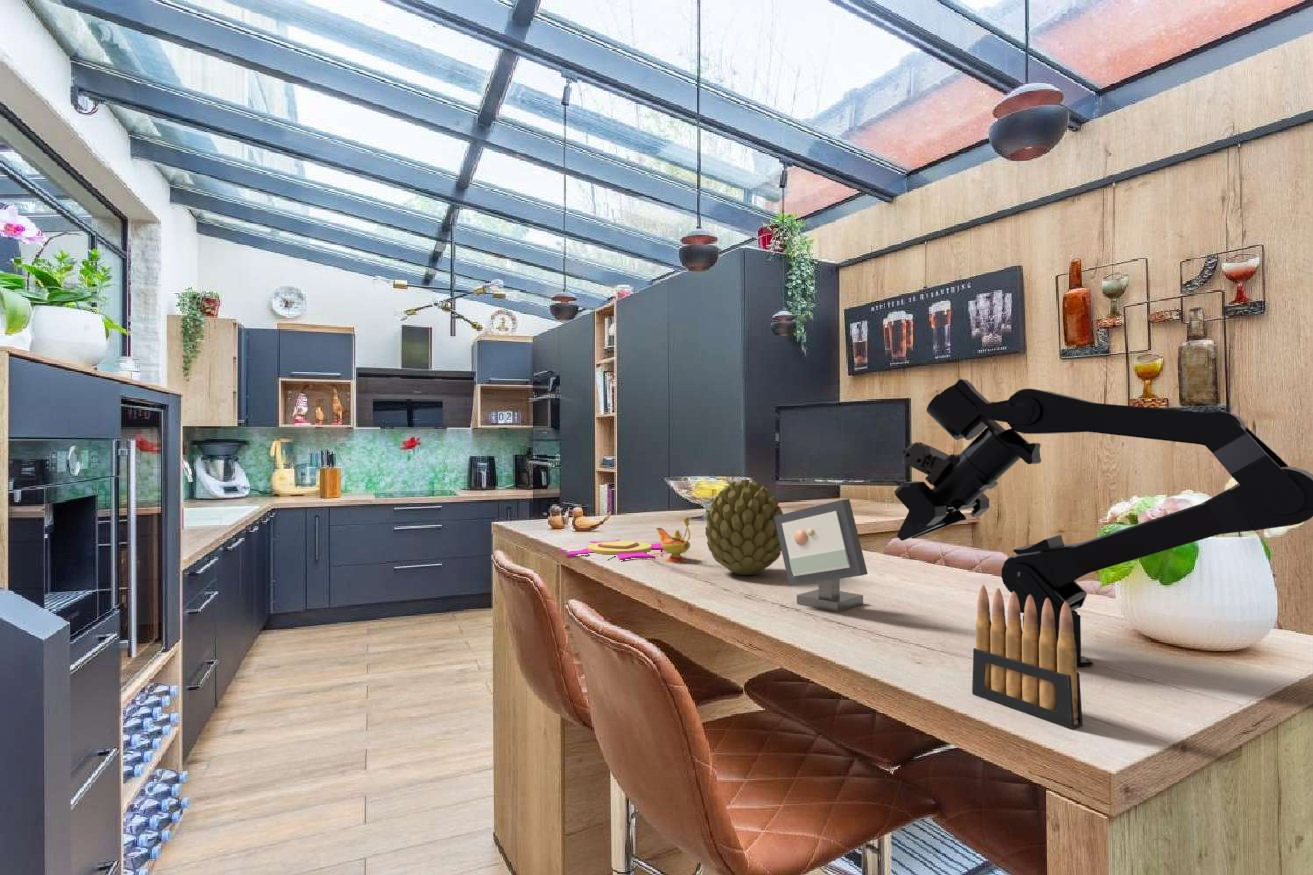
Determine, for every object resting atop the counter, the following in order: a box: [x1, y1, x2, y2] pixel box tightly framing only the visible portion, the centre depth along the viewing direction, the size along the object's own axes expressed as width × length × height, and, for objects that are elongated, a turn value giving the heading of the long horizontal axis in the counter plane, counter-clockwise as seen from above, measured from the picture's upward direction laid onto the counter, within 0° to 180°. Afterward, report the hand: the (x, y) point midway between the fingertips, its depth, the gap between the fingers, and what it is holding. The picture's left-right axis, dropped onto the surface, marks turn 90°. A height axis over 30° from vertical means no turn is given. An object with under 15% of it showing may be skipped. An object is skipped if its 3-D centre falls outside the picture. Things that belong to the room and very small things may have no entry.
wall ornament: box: [558, 539, 669, 560], centre depth 174 cm, size 30×2×30 cm
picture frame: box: [774, 498, 868, 587], centre depth 110 cm, size 14×2×12 cm, turn 43°
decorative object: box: [705, 479, 784, 576], centre depth 142 cm, size 17×17×20 cm
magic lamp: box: [655, 516, 691, 563], centre depth 160 cm, size 7×18×11 cm, turn 24°
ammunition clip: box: [971, 585, 1084, 730], centre depth 69 cm, size 11×2×12 cm, turn 30°
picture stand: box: [796, 579, 864, 613], centre depth 115 cm, size 8×8×14 cm
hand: (905, 537), depth 99 cm, fingers open, 3 cm apart
